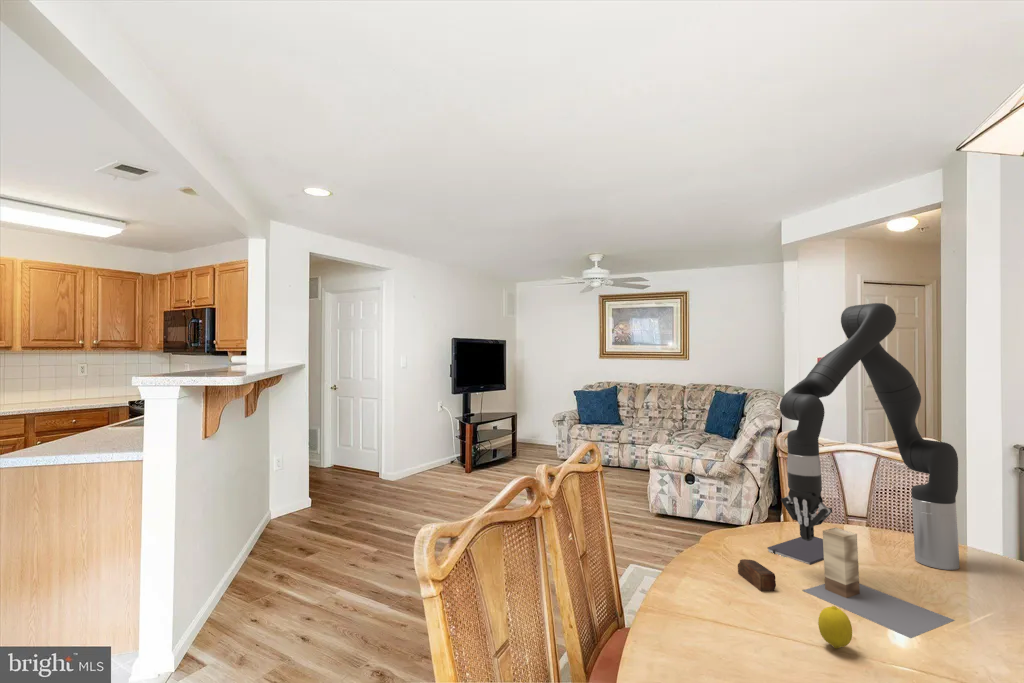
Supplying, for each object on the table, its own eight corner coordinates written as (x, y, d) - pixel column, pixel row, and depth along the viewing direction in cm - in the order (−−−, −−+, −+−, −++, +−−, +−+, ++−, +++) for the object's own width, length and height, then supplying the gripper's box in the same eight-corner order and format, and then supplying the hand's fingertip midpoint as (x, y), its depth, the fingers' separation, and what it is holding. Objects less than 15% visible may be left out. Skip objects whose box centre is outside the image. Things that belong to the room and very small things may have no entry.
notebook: (810, 568, 134) (851, 552, 144) (809, 562, 134) (851, 547, 144) (766, 553, 145) (808, 539, 155) (766, 547, 145) (807, 534, 156)
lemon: (812, 641, 98) (811, 600, 99) (838, 639, 99) (836, 598, 99) (833, 657, 93) (831, 614, 93) (860, 655, 93) (858, 612, 94)
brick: (776, 593, 119) (776, 573, 119) (761, 594, 119) (760, 574, 119) (751, 574, 130) (751, 556, 130) (737, 575, 129) (736, 557, 130)
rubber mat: (844, 579, 126) (844, 577, 126) (955, 621, 105) (955, 620, 105) (802, 592, 119) (802, 590, 119) (910, 640, 98) (910, 638, 98)
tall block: (838, 585, 122) (835, 527, 122) (859, 593, 117) (856, 533, 118) (825, 589, 120) (822, 530, 120) (846, 598, 115) (843, 537, 116)
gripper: (839, 475, 123) (842, 545, 122) (790, 465, 135) (793, 529, 134) (819, 478, 120) (822, 550, 119) (771, 468, 132) (773, 534, 131)
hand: (807, 539), depth 127 cm, fingers closed
